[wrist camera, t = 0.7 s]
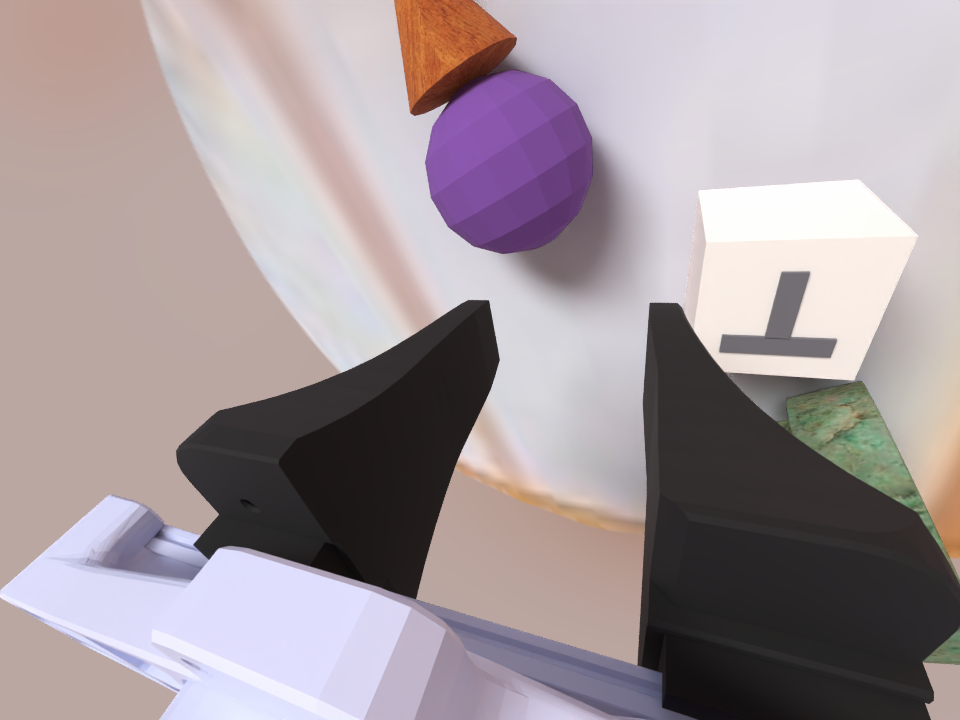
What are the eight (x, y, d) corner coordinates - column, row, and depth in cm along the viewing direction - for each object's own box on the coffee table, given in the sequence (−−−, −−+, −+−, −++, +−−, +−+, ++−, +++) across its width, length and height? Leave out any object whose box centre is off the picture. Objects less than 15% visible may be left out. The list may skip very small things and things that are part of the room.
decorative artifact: (903, 481, 22) (1021, 724, 14) (749, 500, 26) (780, 695, 19) (839, 334, 18) (951, 554, 11) (674, 383, 22) (676, 566, 15)
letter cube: (858, 178, 15) (919, 237, 11) (815, 305, 18) (853, 384, 14) (698, 190, 17) (706, 243, 13) (684, 303, 20) (687, 373, 16)
